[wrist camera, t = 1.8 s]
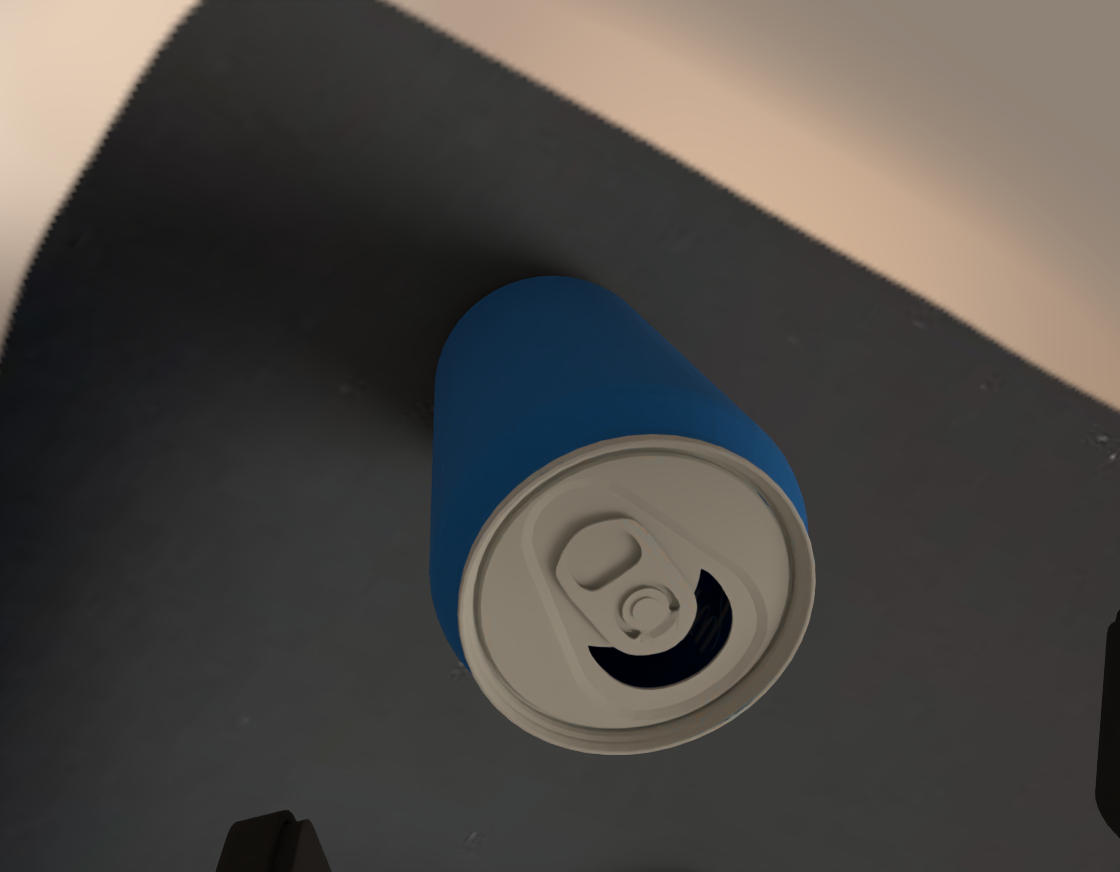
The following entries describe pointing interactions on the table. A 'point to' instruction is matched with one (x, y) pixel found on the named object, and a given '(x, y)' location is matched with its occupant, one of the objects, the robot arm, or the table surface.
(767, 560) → the beverage can
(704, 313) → the table surface
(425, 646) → the table surface
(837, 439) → the table surface
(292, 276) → the table surface
